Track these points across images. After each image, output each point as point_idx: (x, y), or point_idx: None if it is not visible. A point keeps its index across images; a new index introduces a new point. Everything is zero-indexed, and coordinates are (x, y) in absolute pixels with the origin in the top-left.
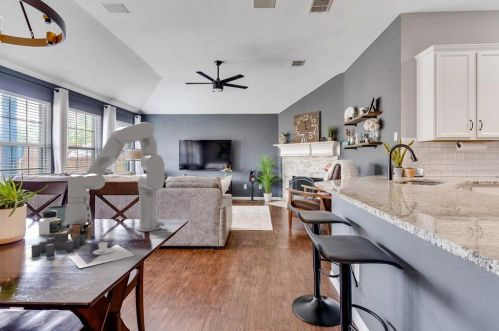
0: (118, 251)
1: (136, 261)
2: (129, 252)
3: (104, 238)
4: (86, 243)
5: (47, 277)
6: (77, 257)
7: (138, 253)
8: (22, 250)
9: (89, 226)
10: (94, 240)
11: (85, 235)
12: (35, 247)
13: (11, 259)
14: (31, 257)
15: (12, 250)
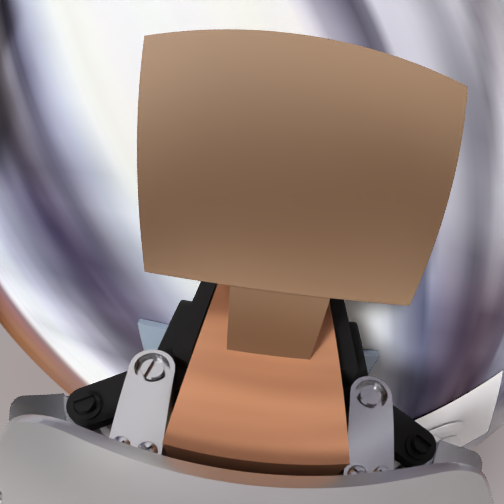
0: (471, 423)
1: (471, 449)
2: (489, 422)
3: (492, 235)
4: (368, 372)
5: None
6: None
7: (499, 421)
8: (54, 356)
9: (427, 198)
10: (421, 282)
11: (354, 323)
12: None
13: None
14: None
15: (23, 339)
